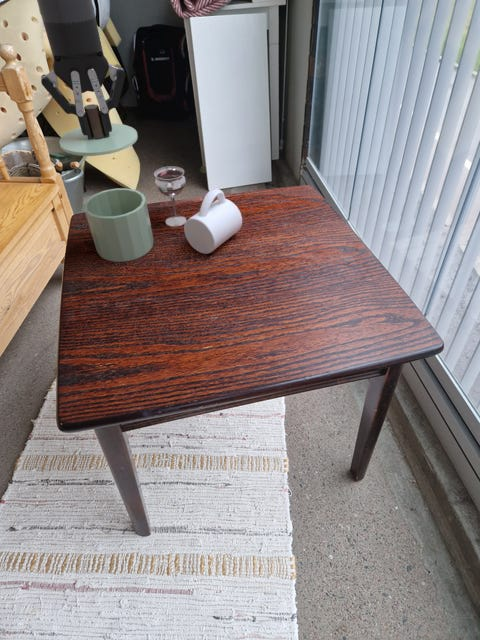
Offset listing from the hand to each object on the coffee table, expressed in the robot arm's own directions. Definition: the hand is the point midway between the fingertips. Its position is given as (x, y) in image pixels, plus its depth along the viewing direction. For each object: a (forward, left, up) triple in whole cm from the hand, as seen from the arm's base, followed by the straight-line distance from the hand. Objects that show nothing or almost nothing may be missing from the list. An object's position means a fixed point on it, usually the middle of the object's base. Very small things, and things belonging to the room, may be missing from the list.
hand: (98, 135), depth 74 cm
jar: (0, +3, -25) cm, 25 cm away
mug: (+19, -3, -25) cm, 32 cm away
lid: (0, 0, -1) cm, 1 cm away
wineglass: (+13, +9, -25) cm, 30 cm away
